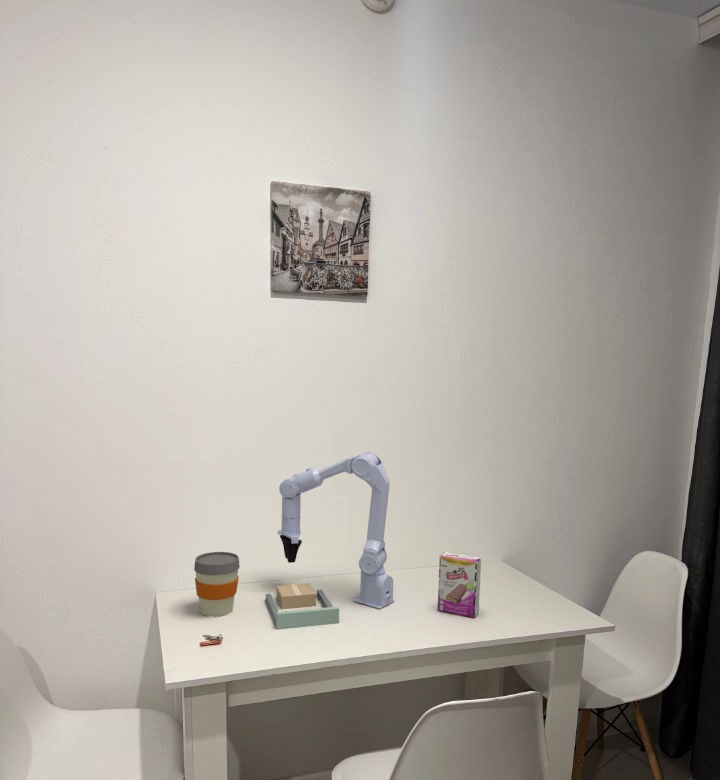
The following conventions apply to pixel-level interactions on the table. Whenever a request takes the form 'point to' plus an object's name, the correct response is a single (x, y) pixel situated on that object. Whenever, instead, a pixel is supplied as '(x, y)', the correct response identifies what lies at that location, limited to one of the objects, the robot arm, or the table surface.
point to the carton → (296, 596)
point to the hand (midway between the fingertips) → (290, 560)
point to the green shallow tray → (304, 614)
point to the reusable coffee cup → (216, 582)
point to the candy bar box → (459, 584)
